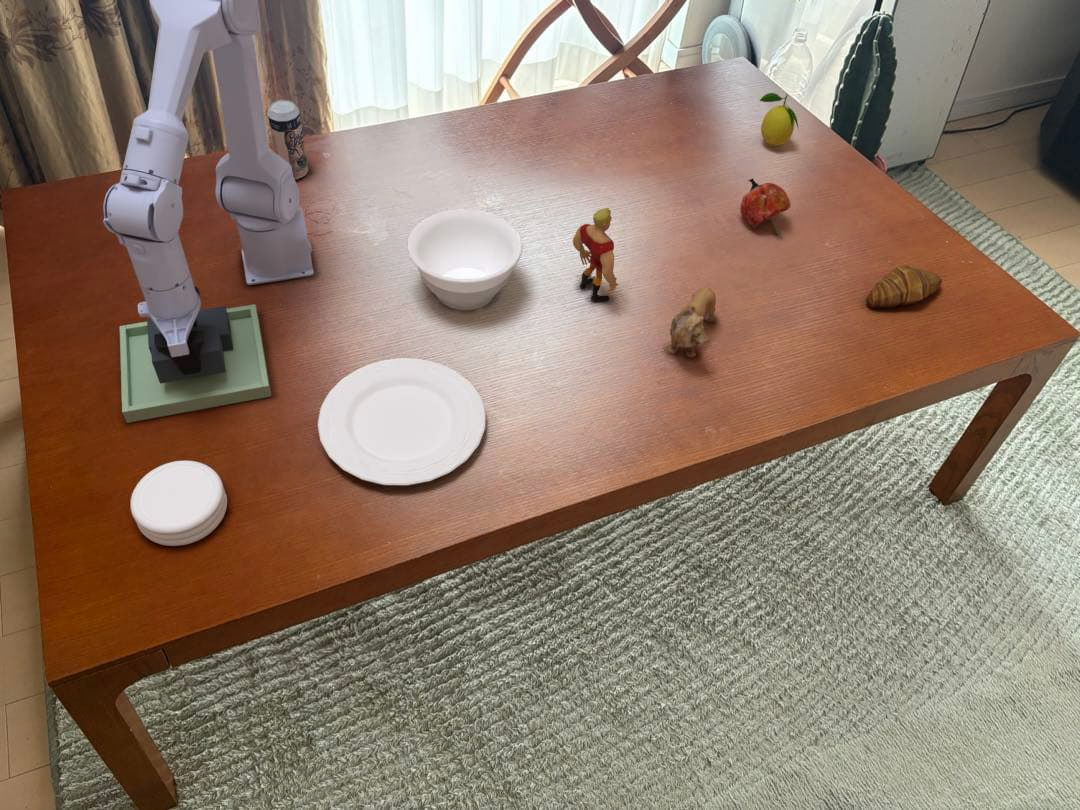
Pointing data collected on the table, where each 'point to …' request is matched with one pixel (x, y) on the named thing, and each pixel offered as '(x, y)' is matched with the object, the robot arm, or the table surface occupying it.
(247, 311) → the tray
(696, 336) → the lion figurine
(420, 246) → the bowl
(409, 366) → the plate
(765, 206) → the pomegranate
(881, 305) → the croissant
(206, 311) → the pad
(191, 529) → the white short cylinder
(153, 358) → the loose pad
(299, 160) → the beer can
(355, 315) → the table surface
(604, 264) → the action figure
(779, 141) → the lemon
